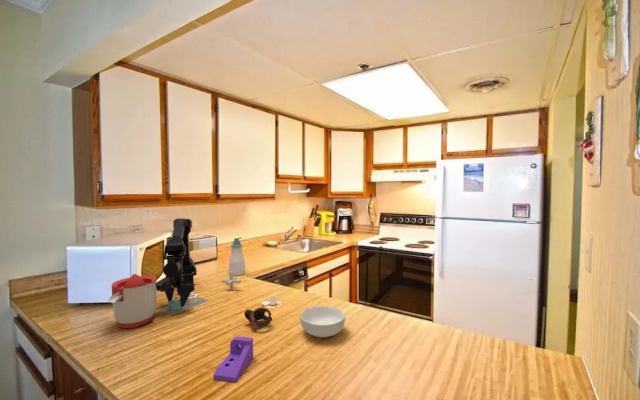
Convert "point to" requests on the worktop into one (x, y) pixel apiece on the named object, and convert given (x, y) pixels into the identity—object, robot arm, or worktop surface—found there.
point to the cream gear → (192, 299)
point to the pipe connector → (231, 281)
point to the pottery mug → (258, 317)
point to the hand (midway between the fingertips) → (176, 304)
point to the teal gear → (174, 305)
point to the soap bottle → (236, 258)
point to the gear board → (187, 306)
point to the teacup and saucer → (271, 302)
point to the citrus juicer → (134, 300)
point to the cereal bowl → (322, 320)
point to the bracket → (235, 360)
